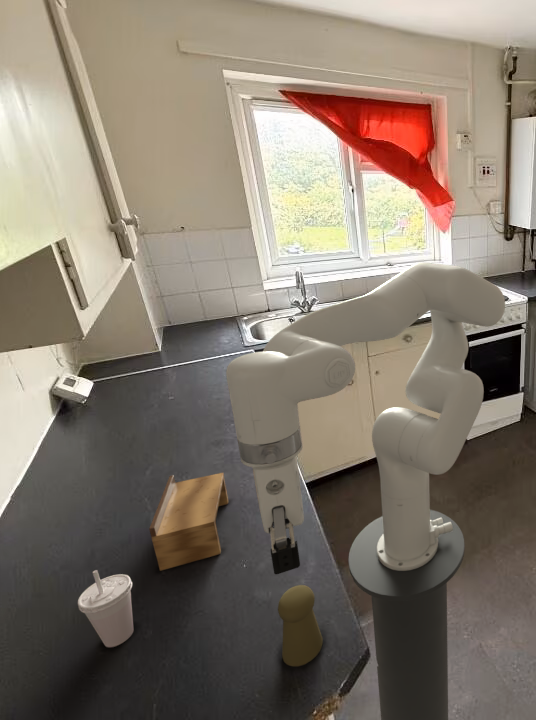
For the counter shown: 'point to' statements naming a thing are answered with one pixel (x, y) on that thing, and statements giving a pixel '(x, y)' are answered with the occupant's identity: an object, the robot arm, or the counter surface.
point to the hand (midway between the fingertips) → (286, 544)
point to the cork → (299, 626)
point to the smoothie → (109, 608)
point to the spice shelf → (188, 520)
